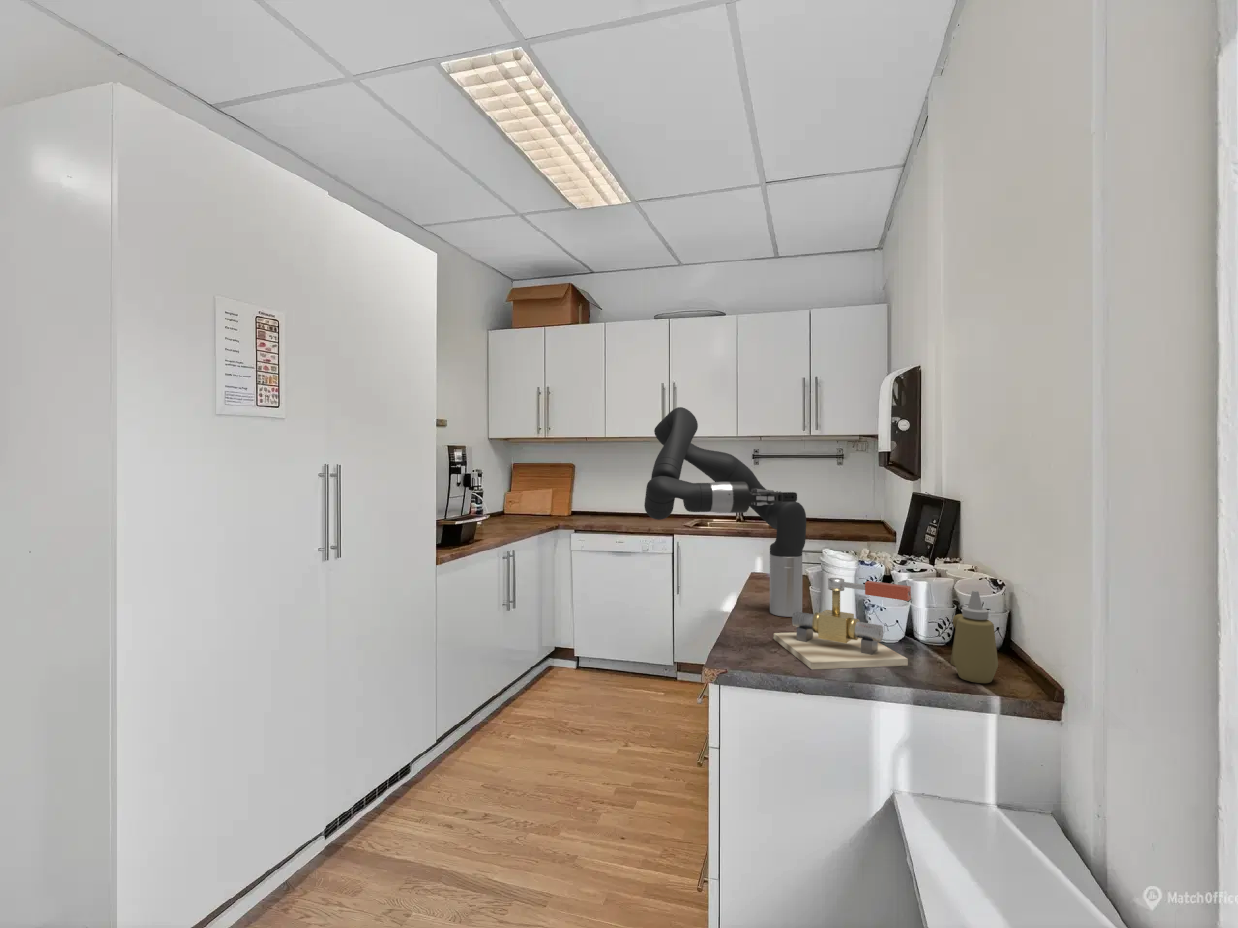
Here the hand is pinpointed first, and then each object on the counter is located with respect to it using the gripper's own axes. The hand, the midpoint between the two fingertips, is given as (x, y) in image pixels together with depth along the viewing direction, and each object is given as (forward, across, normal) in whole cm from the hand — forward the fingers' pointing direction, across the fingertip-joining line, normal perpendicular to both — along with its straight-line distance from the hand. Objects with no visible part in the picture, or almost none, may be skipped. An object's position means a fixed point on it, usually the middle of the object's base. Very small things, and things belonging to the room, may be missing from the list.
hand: (795, 496), depth 146 cm
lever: (+12, -12, +21) cm, 27 cm away
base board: (+7, -7, +36) cm, 37 cm away
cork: (+31, -19, +36) cm, 51 cm away
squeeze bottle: (+27, -27, +36) cm, 53 cm away
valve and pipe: (+7, -7, +35) cm, 36 cm away
